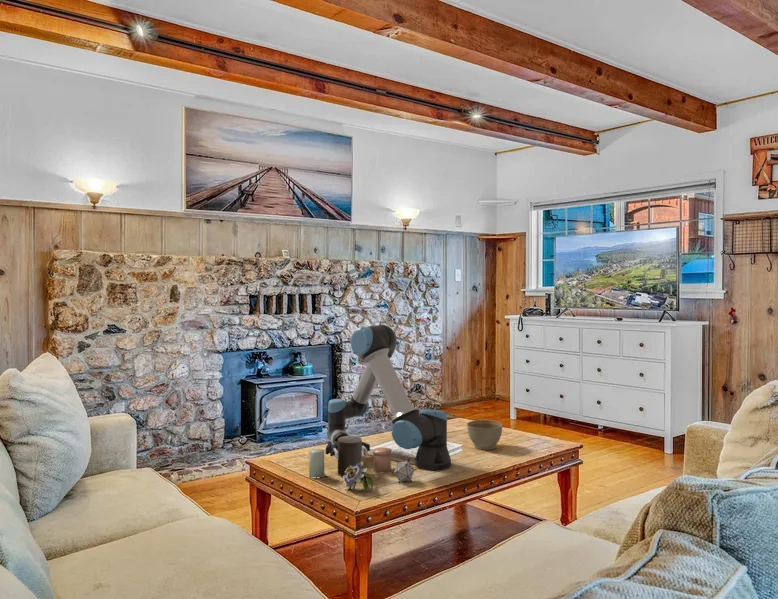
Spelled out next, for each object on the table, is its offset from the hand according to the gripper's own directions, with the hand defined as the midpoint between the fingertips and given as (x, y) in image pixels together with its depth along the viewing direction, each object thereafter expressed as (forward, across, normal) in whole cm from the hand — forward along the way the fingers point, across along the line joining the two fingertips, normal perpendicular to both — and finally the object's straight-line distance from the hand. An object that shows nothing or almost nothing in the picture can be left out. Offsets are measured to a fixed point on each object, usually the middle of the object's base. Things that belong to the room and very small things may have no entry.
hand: (352, 454), depth 238 cm
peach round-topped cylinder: (-4, -13, -9) cm, 16 cm away
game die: (+12, -18, -9) cm, 23 cm away
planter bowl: (-22, -67, -9) cm, 71 cm away
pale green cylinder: (-4, +13, -8) cm, 16 cm away
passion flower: (+15, 0, -9) cm, 17 cm away
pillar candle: (-4, 0, -8) cm, 9 cm away
